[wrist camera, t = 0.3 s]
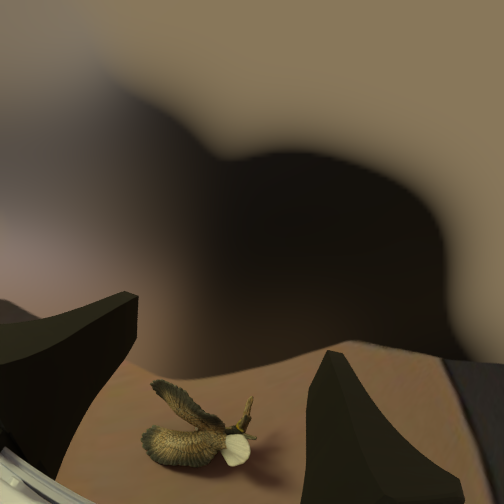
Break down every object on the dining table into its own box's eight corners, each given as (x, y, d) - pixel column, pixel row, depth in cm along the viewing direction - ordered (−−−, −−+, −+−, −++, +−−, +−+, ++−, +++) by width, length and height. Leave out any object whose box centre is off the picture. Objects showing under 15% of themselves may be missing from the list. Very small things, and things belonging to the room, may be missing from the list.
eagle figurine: (237, 398, 31) (148, 379, 28) (270, 394, 25) (159, 371, 22) (227, 469, 27) (134, 454, 24) (259, 482, 21) (142, 469, 18)
